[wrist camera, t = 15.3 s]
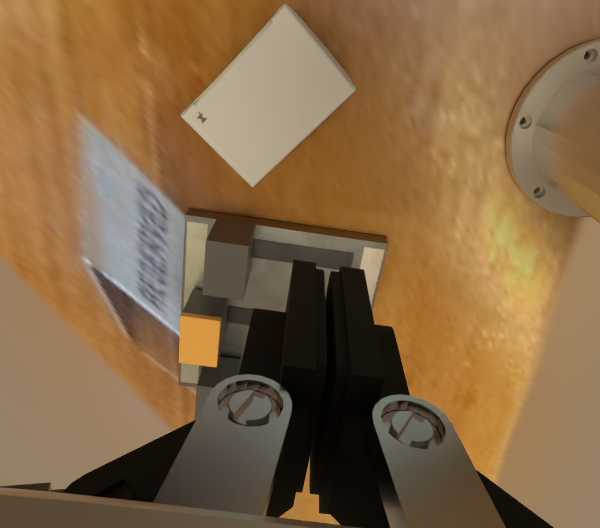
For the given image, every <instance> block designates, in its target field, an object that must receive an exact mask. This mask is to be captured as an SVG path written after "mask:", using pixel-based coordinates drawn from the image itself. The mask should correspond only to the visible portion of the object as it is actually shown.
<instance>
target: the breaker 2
mask: <svg viewBox="0 0 600 528" xmlns="http://www.w3.org/2000/svg"><path fill="white" fill-rule="evenodd" d="M240 361H241V359H235V358H227V357H219V361H218V364H217V367H209V366H203V368H202V371H201V374H200V377H199V381H198V384H197V391H196V407H195V420H196V419H197V417H198V415H199V413H200V412H201V410H202V408H203V406H204V404H205V402H206V400H207V398H208V396H209V394H210V392H211V391H212V390H213V389H214V387H215V386H216V385H217V384H218V383H220V382H221V381H223V380H225V379H226V378H230V377H233V376H236V375H239V370H240Z"/></svg>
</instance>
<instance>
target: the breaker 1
mask: <svg viewBox="0 0 600 528" xmlns="http://www.w3.org/2000/svg"><path fill="white" fill-rule="evenodd" d="M254 233H255V224H249V223H242V222H235V221H228V220H221V219H216V221H215V223H214V225H213V227H212V229H211V231H210V233H209V235H208V237H207V239H206V246H205V262H204V278H203V294H202V295H208V296H215V297H223V298H230V299H237V300H243V299H244V295H245V291H246V288H247V284H248V280H249V276H250V269H251V260H252V251H253V242H254Z"/></svg>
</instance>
